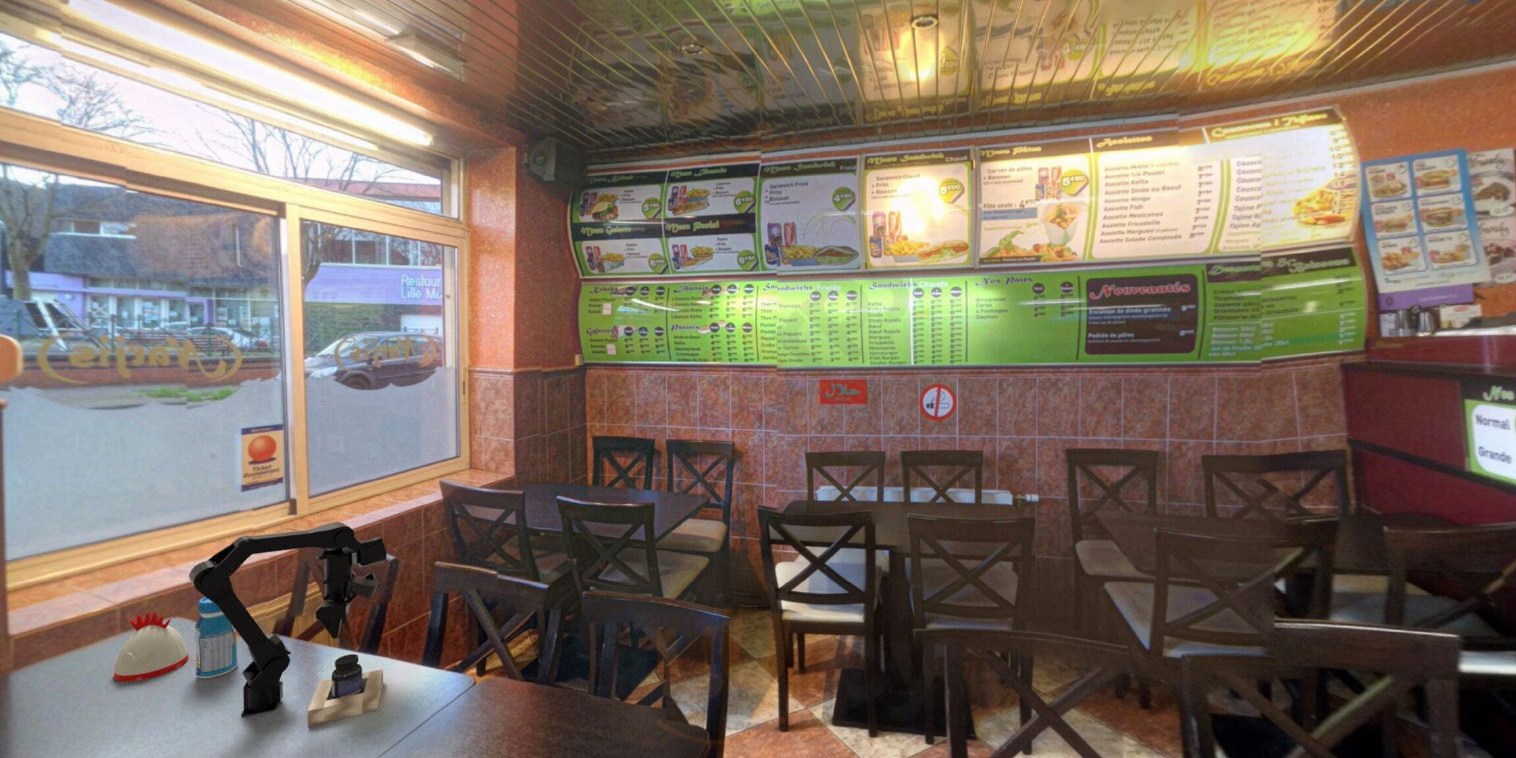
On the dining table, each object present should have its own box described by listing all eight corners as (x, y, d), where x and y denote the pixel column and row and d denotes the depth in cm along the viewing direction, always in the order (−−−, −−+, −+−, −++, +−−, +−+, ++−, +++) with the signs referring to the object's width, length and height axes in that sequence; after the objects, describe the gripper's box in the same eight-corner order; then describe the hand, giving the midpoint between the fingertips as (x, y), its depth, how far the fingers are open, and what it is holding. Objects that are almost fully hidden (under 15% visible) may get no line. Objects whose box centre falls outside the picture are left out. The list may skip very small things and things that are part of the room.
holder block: (307, 725, 135) (307, 710, 135) (319, 695, 147) (319, 681, 147) (377, 710, 141) (377, 696, 141) (383, 682, 153) (383, 669, 153)
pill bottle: (368, 696, 147) (368, 653, 146) (349, 711, 140) (348, 666, 140) (345, 694, 147) (345, 651, 147) (325, 709, 141) (324, 664, 141)
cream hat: (138, 658, 163) (136, 605, 162) (199, 651, 167) (198, 599, 166) (99, 685, 150) (98, 627, 149) (167, 677, 154) (166, 621, 153)
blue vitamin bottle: (212, 681, 152) (210, 605, 151) (186, 677, 154) (185, 602, 153) (246, 665, 160) (245, 592, 159) (221, 661, 162) (220, 589, 161)
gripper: (369, 579, 148) (369, 640, 148) (381, 556, 165) (381, 611, 165) (314, 586, 143) (315, 649, 144) (333, 561, 160) (333, 617, 161)
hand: (339, 630), depth 153 cm, fingers open, 9 cm apart
